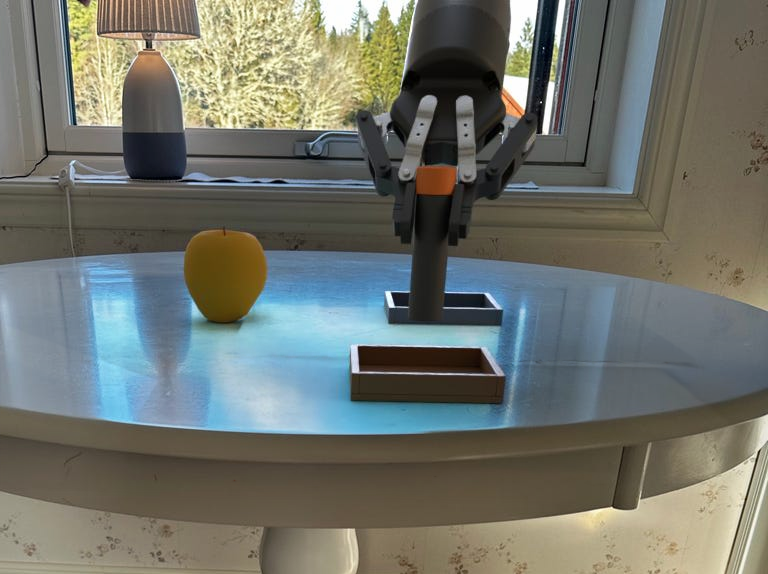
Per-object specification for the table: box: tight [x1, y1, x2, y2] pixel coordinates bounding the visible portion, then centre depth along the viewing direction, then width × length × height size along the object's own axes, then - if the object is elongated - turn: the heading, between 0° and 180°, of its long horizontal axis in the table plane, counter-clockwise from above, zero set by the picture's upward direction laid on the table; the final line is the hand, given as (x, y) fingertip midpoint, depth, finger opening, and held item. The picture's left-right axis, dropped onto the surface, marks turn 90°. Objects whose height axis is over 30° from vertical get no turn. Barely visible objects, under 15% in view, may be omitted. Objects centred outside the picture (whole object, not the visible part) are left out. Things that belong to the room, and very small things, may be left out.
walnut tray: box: [348, 343, 507, 404], centre depth 74 cm, size 11×10×2 cm
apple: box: [183, 226, 268, 324], centre depth 96 cm, size 8×8×9 cm
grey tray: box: [383, 290, 504, 327], centre depth 99 cm, size 11×10×2 cm
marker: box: [408, 165, 457, 322], centre depth 70 cm, size 3×3×10 cm
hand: (429, 236), depth 68 cm, fingers closed on marker, 3 cm apart
